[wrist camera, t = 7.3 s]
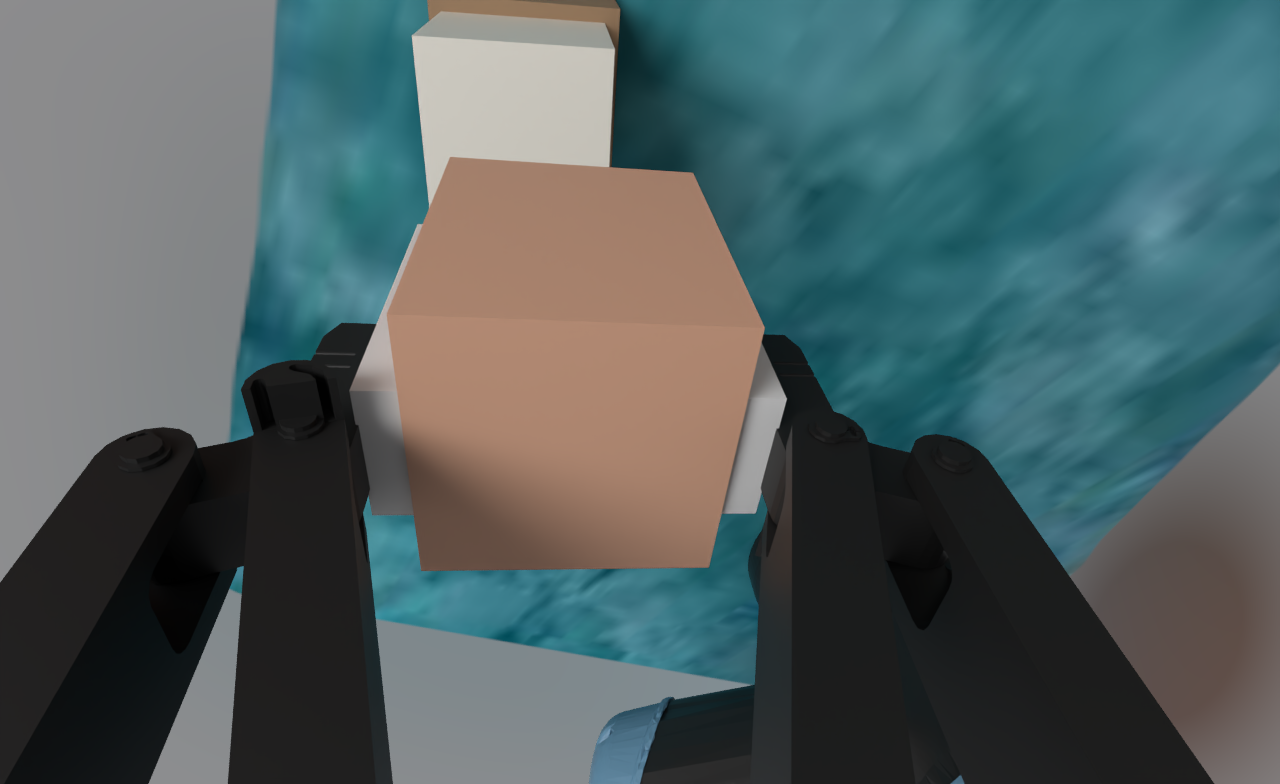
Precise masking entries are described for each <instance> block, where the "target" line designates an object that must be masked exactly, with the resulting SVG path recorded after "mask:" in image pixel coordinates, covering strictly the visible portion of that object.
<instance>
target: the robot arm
mask: <svg viewBox="0 0 1280 784" xmlns="http://www.w3.org/2000/svg"><path fill="white" fill-rule="evenodd" d="M422 225H423V224H418V225H417V227H416V230H415V232H414V235H413V237H412V239H411V242H410V244H409V247H408V249H407V252H406V254H405V256H404V259H403V261H402V264H401V266H400V269H399V271H398V274H397V276H396V278H395V281H394V283H393V286H392V288H391V291H390V293H389V295H388V298H387V300H386V303H385V305H384V308H383V310H382V312H381V315H380V317H379V320H378V322H377V324H360V323H341V324H340V325H338V326H337V327H335V328H334V329H333V330H331V331H330V332H329V333H327V334H326V335H325V336H324V337H323V339H322V340H321V342H320V344H319V346H318V348H317V350H316V355H314V356H313V358H312V360H311V361H309V360H290V361H285V362H280V363H276V364H272V365H269V366H267V367H265V368H262V369H260V370H258V371H256V372H255V373H254V374H252V375H251V376H250V377H249V378H247V379H246V380H245V382H244V384H243V386H242V389H241V392H242V395H243V398H244V402H245V405H246V409H247V412H248V415H249V419H250V422H251V425H252V429H253V432H254V434H253V436H251V437H248V438H245V439H241V440H237V441H234V442H229V443H224V444H218V445H213V446H208V447H202V448H197V445H196V443H195V441H194V439H193V437H192V436H191V435H190V434H188V433H186V432H184V431H182V430H180V429H174V428H164V427H162V428H153V429H144V430H141V431H137V432H133V433H131V434H128V435H125V436H122V437H120V438H119V439H117V440H115V441H113V442H111V443H109V444H108V445H106V446H105V447H104V448H103V449H102V450H101V451H100V452H99V453H97V454H96V455H95V456H94V458H93V459H92V460H91V462H90V463H89V464H88V466H87V467H86V469H85V470H84V471H83V472H82V474H81V475H80V476H79V478H78V479H77V480H76V482H75V483H74V484H73V486H72V487H71V488H70V490H69V491H68V492H67V494H66V495H65V496H64V498H63V499H62V501H61V502H60V503H59V504H58V506H57V507H56V509H55V510H54V511H53V513H52V514H51V515H50V517H49V518H48V519H47V521H46V522H45V523H44V525H43V526H42V527H41V529H40V530H39V531H38V533H37V534H36V535H35V537H34V538H33V539H32V541H31V542H30V543H29V545H28V546H27V547H26V549H25V550H24V551H23V553H22V554H21V555H20V557H19V558H18V560H17V561H16V562H15V563H14V565H13V567H12V568H11V569H10V570H9V572H8V573H7V574H6V576H5V577H4V578H3V580H2V581H1V582H0V784H148V783H149V781H150V779H151V776H152V774H153V771H154V769H155V767H156V764H157V762H158V759H159V757H160V754H161V752H162V750H163V747H164V745H165V742H166V740H167V737H168V735H169V733H170V730H171V728H172V726H173V723H174V721H175V718H176V716H177V713H178V711H179V709H180V706H181V704H182V701H183V699H184V697H185V694H186V692H187V689H188V687H189V685H190V682H191V680H192V677H193V675H194V672H195V670H196V668H197V665H198V663H199V660H200V658H201V655H202V653H203V651H204V648H205V646H206V643H207V641H208V639H209V636H210V634H211V631H212V629H213V627H214V624H215V622H216V619H217V617H218V614H219V612H220V610H221V607H222V605H223V602H224V600H225V597H226V595H227V593H228V590H229V588H230V586H231V583H232V581H233V578H234V576H235V574H236V571H237V567H241V566H244V571H243V584H242V598H241V612H240V626H239V639H238V654H237V666H236V667H237V668H236V681H235V694H234V707H233V721H232V734H231V749H230V762H229V776H228V784H393V781H392V771H391V762H390V752H389V742H388V733H387V723H386V714H385V704H384V695H383V686H382V677H381V676H382V675H381V666H380V656H379V648H378V637H377V628H376V618H375V609H374V599H373V589H372V580H371V570H370V561H369V551H368V542H367V532H366V527H365V522H364V516H363V511H364V508H365V504H366V501H367V498H368V495H369V499H370V505H371V510H372V515H414V513H413V505H412V498H411V491H410V483H409V476H408V469H407V461H406V454H405V447H404V439H403V432H402V424H401V417H400V410H399V402H398V395H397V388H396V380H395V373H394V366H393V358H392V351H391V343H390V336H389V329H388V321H387V312H388V310H389V307H390V305H391V302H392V300H393V297H394V295H395V292H396V290H397V287H398V285H399V282H400V280H401V277H402V275H403V272H404V270H405V267H406V265H407V262H408V260H409V257H410V255H411V253H412V250H413V248H414V245H415V243H416V240H417V238H418V235H419V233H420V230H421V228H422ZM761 492H762V494H763V497H764V499H765V502H766V505H767V508H768V511H767V515H766V518H765V522H764V525H763V529H762V531H761V533H760V534H759V536H758V537H757V539H756V541H755V542H754V544H753V547H752V549H751V552H750V556H749V562H748V571H749V576H750V580H751V584H752V587H753V591H754V594H755V597H756V600H757V602H758V604H759V614H758V634H757V654H756V674H755V685H751V686H747V687H741V688H735V689H730V690H724V691H720V692H714V693H709V694H703V695H697V696H692V697H687V698H681V699H676V700H675V699H674V697H668V698H665V699H663V700H662V702H661V703H657V704H653V705H650V706H646V707H641V708H637V709H633V710H629V711H624V712H622V713H619V714H617V715H615V716H614V717H613V718H612V719H610V720H609V721H608V723H607V724H606V725H605V726H604V728H603V729H602V731H601V733H600V736H599V738H598V741H597V744H596V747H595V752H594V755H593V760H592V765H591V772H590V779H589V784H1214V783H1213V781H1212V780H1211V778H1210V777H1209V775H1208V774H1207V773H1206V771H1205V770H1204V768H1203V767H1202V766H1201V764H1200V763H1199V761H1198V760H1197V758H1196V757H1195V756H1194V754H1193V753H1192V751H1191V750H1190V748H1189V747H1188V746H1187V744H1186V743H1185V741H1184V740H1183V738H1182V737H1181V735H1180V734H1179V733H1178V731H1177V730H1176V728H1175V727H1174V726H1173V724H1172V723H1171V721H1170V720H1169V718H1168V717H1167V716H1166V714H1165V713H1164V711H1163V710H1162V708H1161V707H1160V705H1159V704H1158V703H1157V701H1156V700H1155V698H1154V697H1153V695H1152V694H1151V693H1150V691H1149V690H1148V688H1147V687H1146V685H1145V684H1144V683H1143V681H1142V680H1141V678H1140V677H1139V675H1138V674H1137V672H1136V671H1135V670H1134V668H1133V667H1132V666H1131V664H1130V662H1129V661H1128V660H1127V658H1126V657H1125V655H1124V654H1123V652H1122V651H1121V650H1120V648H1119V647H1118V645H1117V644H1116V642H1115V641H1114V640H1113V638H1112V637H1111V635H1110V634H1109V633H1108V631H1107V630H1106V628H1105V627H1104V625H1103V624H1102V622H1101V621H1100V620H1099V618H1098V617H1097V615H1096V614H1095V613H1094V611H1093V610H1092V608H1091V607H1090V605H1089V604H1088V602H1087V601H1086V600H1085V598H1084V597H1083V595H1082V594H1081V592H1080V591H1079V589H1078V588H1077V587H1076V585H1075V584H1074V582H1073V581H1072V580H1071V578H1070V577H1069V575H1068V574H1067V572H1066V571H1065V569H1064V568H1063V567H1062V565H1061V564H1060V562H1059V561H1058V559H1057V558H1056V557H1055V555H1054V554H1053V552H1052V551H1051V549H1050V548H1049V547H1048V545H1047V544H1046V542H1045V541H1044V539H1043V538H1042V537H1041V535H1040V534H1039V532H1038V531H1037V529H1036V528H1035V527H1034V525H1033V524H1032V522H1031V521H1030V519H1029V518H1028V517H1027V515H1026V514H1025V512H1024V511H1023V509H1022V508H1021V507H1020V505H1019V504H1018V502H1017V501H1016V499H1015V498H1014V497H1013V495H1012V494H1011V492H1010V491H1009V489H1008V488H1007V486H1006V485H1005V484H1004V482H1003V481H1002V479H1001V478H1000V476H999V475H998V474H997V472H996V471H995V469H994V468H993V466H992V465H991V464H990V462H989V461H988V459H987V458H986V457H985V456H984V455H983V454H982V453H981V452H980V451H979V450H977V449H976V448H974V447H972V446H971V445H969V444H968V443H966V442H964V441H962V440H958V439H957V438H953V437H950V436H944V435H937V434H935V435H925V436H923V437H921V438H919V439H917V440H916V441H915V443H914V446H913V448H912V450H911V453H909V452H905V451H900V450H896V449H892V448H887V447H883V446H879V445H876V444H872V443H869V442H867V437H866V435H865V433H864V431H863V429H862V428H861V427H860V426H859V425H858V424H857V423H856V422H855V421H853V420H851V419H850V418H848V417H846V416H844V415H842V414H839V413H836V412H834V411H833V409H832V407H831V406H830V404H829V402H828V400H827V398H826V396H825V394H824V392H823V390H822V389H821V387H820V385H819V383H818V381H817V379H816V377H814V373H813V372H812V370H811V368H810V366H809V365H808V362H807V360H806V358H805V356H804V354H803V353H802V351H801V349H800V348H799V347H798V346H797V345H796V344H794V343H793V342H792V341H791V340H790V339H788V338H787V337H786V336H785V335H763V338H762V342H761V346H760V351H759V355H758V359H757V363H756V368H755V372H754V376H753V381H752V385H751V389H750V393H749V398H748V402H747V406H746V410H745V415H744V419H743V423H742V428H741V432H740V436H739V440H738V445H737V449H736V453H735V457H734V462H733V466H732V470H731V475H730V479H729V483H728V487H727V492H726V496H725V500H724V505H723V509H722V513H721V514H746V513H756V511H757V507H758V503H759V500H760V496H761Z"/></svg>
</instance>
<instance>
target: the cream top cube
mask: <svg viewBox="0 0 1280 784" xmlns="http://www.w3.org/2000/svg"><path fill="white" fill-rule="evenodd" d="M412 41H413V51H414V61H415V71H416V81H417V90H418V100H419V110H420V120H421V130H422V139H423V149H424V159H425V169H426V179H427V188H428V198H429V208H430V205H431V203H432V200H433V198H434V195H435V193H436V190H437V188H438V186H439V183H440V181H441V178H442V176H443V173H444V171H445V168H446V166H447V163H448V161H449V158H450V157H460V158H475V159H491V160H506V161H521V162H536V163H552V164H567V165H582V166H597V167H609V160H610V139H611V118H612V97H613V77H614V56H615V48H614V46H613V43H612V40H611V38H610V35H609V33H608V30H607V27H606V25H605V23H598V22H584V21H570V20H556V19H542V18H527V17H513V16H499V15H485V14H471V13H457V12H443V11H441V12H440V13H438V14H437V15H436V16H435V17H434V18H432V19H431V20H430V21H429V22H428V23H426V24H425V25H424V26H423V27H422V28H420V29H419V30H418V31H417V32H416V33H414V34H413V35H412Z"/></svg>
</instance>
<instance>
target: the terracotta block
mask: <svg viewBox="0 0 1280 784" xmlns="http://www.w3.org/2000/svg"><path fill="white" fill-rule="evenodd" d="M387 321H388V329H389V336H390V343H391V351H392V358H393V366H394V373H395V380H396V388H397V395H398V402H399V410H400V417H401V424H402V432H403V439H404V447H405V454H406V461H407V469H408V476H409V483H410V491H411V498H412V505H413V513H414V520H415V527H416V535H417V542H418V550H419V557H420V564H421V571H452V570H539V569H625V568H709V564H710V560H711V556H712V552H713V547H714V543H715V539H716V534H717V530H718V526H719V522H720V517H721V513H722V509H723V505H724V500H725V496H726V492H727V487H728V483H729V479H730V475H731V470H732V466H733V462H734V457H735V453H736V449H737V445H738V440H739V436H740V432H741V428H742V423H743V419H744V415H745V410H746V406H747V402H748V398H749V393H750V389H751V385H752V381H753V376H754V372H755V368H756V363H757V359H758V355H759V351H760V346H761V342H762V338H763V334H764V329H765V327H764V325H763V323H762V321H761V319H760V317H759V314H758V312H757V310H756V308H755V306H754V304H753V301H752V299H751V297H750V295H749V293H748V291H747V288H746V286H745V284H744V282H743V280H742V278H741V275H740V273H739V271H738V269H737V267H736V265H735V263H734V260H733V258H732V256H731V254H730V252H729V250H728V247H727V245H726V243H725V241H724V239H723V237H722V234H721V232H720V230H719V228H718V226H717V224H716V221H715V219H714V217H713V215H712V213H711V211H710V209H709V206H708V204H707V202H706V200H705V198H704V196H703V193H702V191H701V189H700V187H699V185H698V183H697V180H696V178H695V176H694V174H693V173H689V172H673V171H658V170H643V169H628V168H612V167H597V166H582V165H567V164H552V163H536V162H521V161H506V160H491V159H475V158H460V157H450V158H449V161H448V163H447V166H446V168H445V171H444V173H443V176H442V178H441V181H440V183H439V186H438V188H437V190H436V193H435V195H434V198H433V200H432V203H431V205H430V208H429V210H428V213H427V215H426V218H425V220H424V223H423V225H422V228H421V230H420V233H419V235H418V238H417V240H416V243H415V245H414V248H413V250H412V253H411V255H410V257H409V260H408V262H407V265H406V267H405V270H404V272H403V275H402V277H401V280H400V282H399V285H398V287H397V290H396V292H395V295H394V297H393V300H392V302H391V305H390V307H389V310H388V312H387Z"/></svg>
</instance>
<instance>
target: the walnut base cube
mask: <svg viewBox="0 0 1280 784" xmlns="http://www.w3.org/2000/svg"><path fill="white" fill-rule="evenodd" d="M441 11H443V12H457V13H471V14H485V15H499V16H513V17H527V18H542V19H556V20H570V21H584V22H598V23H605V25H606V27H607V30H608V33H609V35H610V38H611V40H612V43H613V46H614V48H615V56H614V77H613V97H612V118H611V139H610V160H609V167H611V165H612V147H613V129H614V111H615V93H616V75H617V58H618V40H619V22H620V8H619V6H618V4H617V3H616V1H615V0H428V12H429V21H430V20H431V19H432V18H434V17H435V16H436V15H437V14H438V13H440V12H441Z"/></svg>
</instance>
